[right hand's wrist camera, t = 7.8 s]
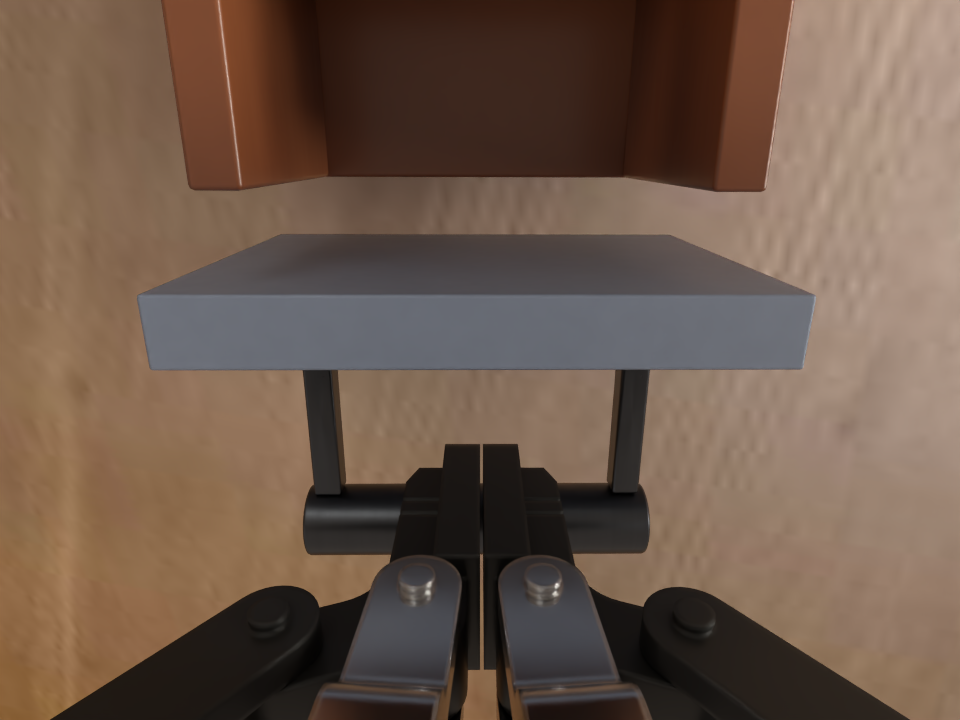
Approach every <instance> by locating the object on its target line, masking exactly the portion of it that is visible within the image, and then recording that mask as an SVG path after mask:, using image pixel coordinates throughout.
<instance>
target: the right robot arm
mask: <svg viewBox="0 0 960 720" xmlns="http://www.w3.org/2000/svg"><path fill="white" fill-rule="evenodd" d="M483 610H484V670H496V682H497V708H496V713H497V720H910V719H908V718H906V717H905V716H903V715H902V714H900V713H899V712H897V711H895V710H894V709H892V708H891V707H889V706H887V705H886V704H884V703H883V702H881V701H880V700H878V699H876V698H875V697H873V696H872V695H870V694H868V693H867V692H865V691H864V690H862V689H861V688H859V687H857V686H856V685H854V684H853V683H851V682H849V681H848V680H846V679H845V678H843V677H842V676H840V675H838V674H837V673H835V672H834V671H832V670H830V669H829V668H827V667H826V666H824V665H823V664H821V663H819V662H818V661H816V660H815V659H813V658H811V657H810V656H808V655H807V654H805V653H804V652H802V651H800V650H799V649H797V648H796V647H794V646H792V645H791V644H789V643H788V642H786V641H785V640H783V639H781V638H780V637H778V636H777V635H775V634H773V633H772V632H770V631H769V630H767V629H766V628H764V627H762V626H761V625H759V624H758V623H756V622H754V621H753V620H751V619H750V618H748V617H747V616H745V615H743V614H742V613H740V612H739V611H737V610H735V609H734V608H732V607H731V606H729V605H728V604H726V603H724V602H723V601H721V600H720V599H718V598H716V597H714V596H712V595H710V594H708V593H705V592H703V591H700V590H696V589H692V588H685V587H671V588H665V589H662V590H659V591H657V592H655V593H653V594H652V595H651V596H650V597H649V598H648V599H647V600H646V602H645V604H644V607H641V606H637V605H633V604H629V603H625V602H621V601H617V600H614V599H611V598H609V597H606V596H604V595H602V594H600V593H598V592H597V591H595V590H594V589H592V588H591V587H589V586H588V583H587V581H586V579H585V576H584V575H583V574H582V572H581V571H580V570H579V569H578V568H577V567H575V563H574V559H573V554H572V549H571V545H570V540H569V536H568V531H567V526H566V522H565V517H564V515H563V508H562V503H561V501H560V494H559V490H558V485H557V481H556V480H555V479H554V478H553V477H552V476H551V475H550V474H549V473H548V472H547V471H546V470H545V469H544V468H521V467H520V459H519V450H518V444H483ZM468 670H480V444H445V451H444V460H443V468H419V469H418V470H417V471H416V472H415V473H414V474H413V475H412V476H411V478H410V479H409V480H408V481H407V482H406V486H405V491H404V496H403V501H402V505H401V510H400V515H399V520H398V524H397V529H396V534H395V539H394V544H393V548H392V553H391V558H390V563H389V564H388V565H386V566H385V567H383V568H382V569H381V570H380V571H379V572H378V574H377V575H376V576H375V579H374V581H373V583H372V586H371V589H370V590H369V591H368V592H366V593H364V594H363V595H361V596H358V597H356V598H354V599H351V600H348V601H344V602H340V603H336V604H332V605H328V606H324V607H320V608H319V605H318V602H317V600H316V599H315V597H314V596H313V595H312V594H311V593H309V592H308V591H306V590H304V589H301V588H298V587H294V586H274V587H269V588H265V589H261V590H258V591H256V592H253V593H251V594H249V595H247V596H245V597H244V598H242V599H240V600H239V601H237V602H236V603H234V604H232V605H231V606H229V607H228V608H226V609H225V610H223V611H221V612H220V613H218V614H217V615H215V616H213V617H212V618H210V619H209V620H207V621H206V622H204V623H202V624H201V625H199V626H198V627H196V628H194V629H193V630H191V631H190V632H188V633H187V634H185V635H183V636H182V637H180V638H179V639H177V640H175V641H174V642H172V643H171V644H169V645H168V646H166V647H164V648H163V649H161V650H160V651H158V652H156V653H155V654H153V655H152V656H150V657H149V658H147V659H145V660H144V661H142V662H141V663H139V664H137V665H136V666H134V667H133V668H131V669H130V670H128V671H126V672H125V673H123V674H122V675H120V676H118V677H117V678H115V679H114V680H112V681H111V682H109V683H107V684H106V685H104V686H103V687H101V688H99V689H98V690H96V691H95V692H93V693H92V694H90V695H88V696H87V697H85V698H84V699H82V700H80V701H79V702H77V703H76V704H74V705H73V706H71V707H69V708H68V709H66V710H65V711H63V712H62V713H60V714H58V715H57V716H55V717H54V718H52V719H50V720H463V713H464V708H463V704H464V702H465V699H466V696H467V685H468Z"/></svg>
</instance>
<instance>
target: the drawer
mask: <svg viewBox="0 0 960 720" xmlns="http://www.w3.org/2000/svg"><path fill="white" fill-rule="evenodd" d="M161 2H162V9H163V15H164V22H165V29H166V36H167V43H168V49H169V56H170V63H171V70H172V77H173V83H174V90H175V97H176V104H177V111H178V117H179V124H180V131H181V138H182V145H183V151H184V158H185V165H186V172H187V179H188V185H189V187H190V188H191V189H193V190H222V191H239V190H245V189H252V188H258V187H264V186H270V185H277V184H283V183H289V182H295V181H302V180H308V179H314V178H320V177H626V178H632V179H638V180H645V181H651V182H657V183H664V184H670V185H676V186H683V187H689V188H695V189H702V190H708V191H714V192H761V191H764V190H765V189H766V186H767V179H768V173H769V166H770V159H771V153H772V146H773V140H774V133H775V126H776V120H777V113H778V106H779V100H780V93H781V86H782V80H783V73H784V66H785V60H786V53H787V46H788V40H789V33H790V26H791V20H792V13H793V7H794V0H161ZM137 301H138V306H139V312H140V317H141V323H142V328H143V334H144V339H145V344H146V350H147V355H148V361H149V366H150V369H151V370H303V377H304V387H305V398H306V408H307V418H308V428H309V439H310V449H311V459H312V469H313V480H314V485H313V486H312V487H311V488H310V490H309V492H308V495H307V498H306V503H305V508H304V516H303V538H304V545H305V548H306V551H307V553H308V554H310V555H391V553H392V548H393V544H394V539H395V534H396V529H397V524H398V520H399V515H400V510H401V505H402V501H403V496H404V491H405V486H406V484H345V483H346V472H345V459H344V447H343V434H342V421H341V408H340V395H339V382H338V370H616V372H615V385H614V397H613V409H612V422H611V434H610V447H609V459H608V472H607V482H608V483H557V485H558V490H559V494H560V501H561V503H562V508H563V515H564V517H565V522H566V526H567V531H568V536H569V540H570V545H571V549H572V554H616V553H643V552H645V551H646V549H647V546H648V542H649V535H650V517H649V508H648V503H647V498H646V495H645V492H644V490H643V488H642V486H641V485H640V484H638V483H639V473H640V463H641V453H642V443H643V433H644V423H645V413H646V403H647V393H648V383H649V373H650V370H745V369H802V368H803V365H804V360H805V354H806V349H807V344H808V338H809V333H810V328H811V322H812V317H813V312H814V306H815V301H816V296H815V295H814V294H811V293H809V292H806V291H804V290H802V289H799V288H797V287H794V286H792V285H789V284H787V283H785V282H782V281H780V280H777V279H775V278H772V277H770V276H768V275H765V274H763V273H760V272H758V271H756V270H753V269H751V268H748V267H746V266H743V265H741V264H739V263H736V262H734V261H731V260H729V259H727V258H724V257H722V256H719V255H717V254H714V253H712V252H710V251H707V250H705V249H702V248H700V247H698V246H695V245H693V244H690V243H688V242H685V241H683V240H681V239H678V238H676V237H673V236H671V235H399V234H281V235H278V236H276V237H274V238H271V239H269V240H266V241H264V242H262V243H259V244H257V245H255V246H252V247H250V248H248V249H245V250H243V251H240V252H238V253H236V254H233V255H231V256H229V257H226V258H224V259H222V260H219V261H217V262H215V263H212V264H210V265H207V266H205V267H203V268H200V269H198V270H196V271H193V272H191V273H189V274H186V275H184V276H182V277H179V278H177V279H174V280H172V281H170V282H167V283H165V284H163V285H160V286H158V287H156V288H153V289H151V290H148V291H146V292H144V293H141V294H139V295H138V296H137ZM480 554H483V483H480Z"/></svg>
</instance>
